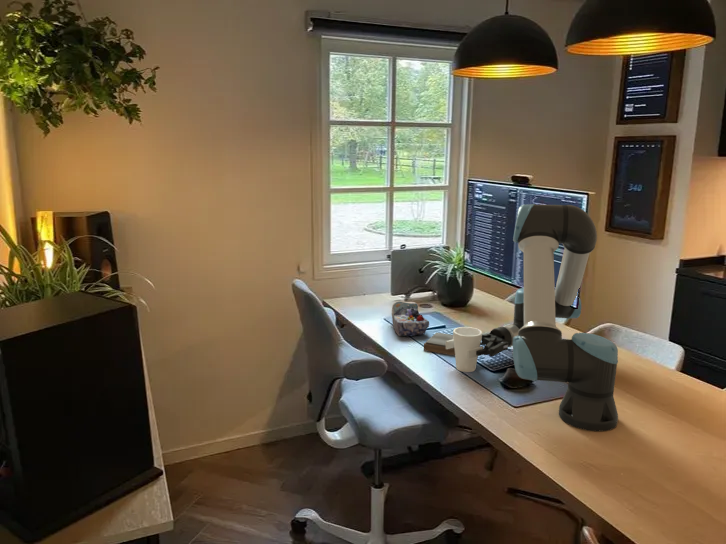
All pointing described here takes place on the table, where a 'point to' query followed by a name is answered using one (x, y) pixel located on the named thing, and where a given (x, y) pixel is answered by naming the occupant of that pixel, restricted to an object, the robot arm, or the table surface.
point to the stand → (439, 344)
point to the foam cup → (466, 347)
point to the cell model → (408, 319)
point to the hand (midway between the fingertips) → (456, 349)
